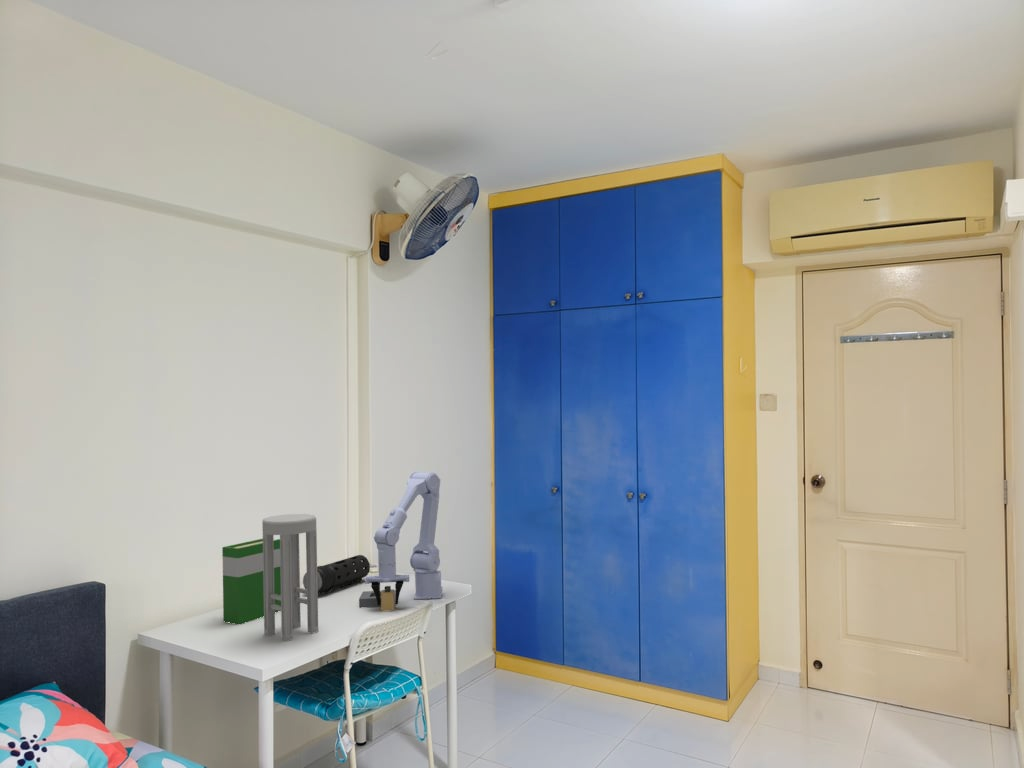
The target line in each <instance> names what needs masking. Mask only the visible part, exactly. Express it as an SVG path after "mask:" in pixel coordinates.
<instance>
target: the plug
mask: <svg viewBox="0 0 1024 768" xmlns="http://www.w3.org/2000/svg"><path fill="white" fill-rule="evenodd" d="M391 588H392V587H391V585H385V586H384V589H382V590H381V591H382V592H381V607H380V608H381V610H380V611H381V612H387V611H386V610H391V611H394V610H395V607H396V604H395V600H394V590H395V588H393V589H391ZM384 610H385V611H384ZM391 611H390V612H391Z"/></svg>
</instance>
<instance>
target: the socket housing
mask: <svg viewBox="0 0 1024 768" xmlns="http://www.w3.org/2000/svg"><path fill="white" fill-rule="evenodd" d="M381 592H382V590H380V600H381ZM394 600H395V601H396V589H394ZM358 605H359V606H358V608H359V607H360V608H361V607H367V608H381V604H380V605H378V603H377V599H376V596H375V593H374V591H373V590H371V591H370V590H369V591H368V590H367V591H362V592H361V594H360V596H359V598H358ZM395 605H397V604H396V603H395ZM360 608H359V609H360Z"/></svg>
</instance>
